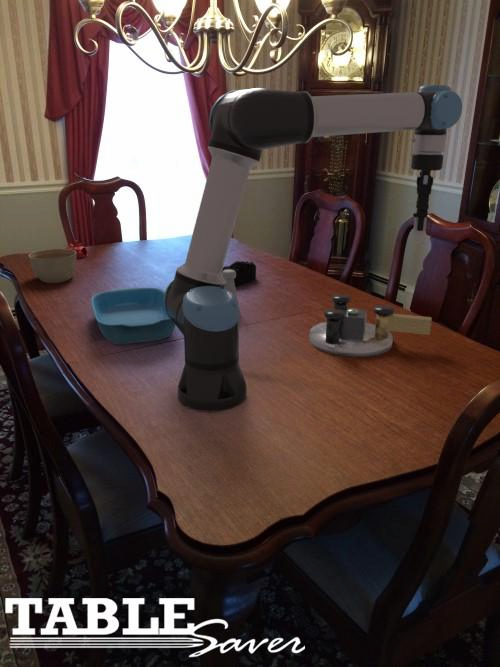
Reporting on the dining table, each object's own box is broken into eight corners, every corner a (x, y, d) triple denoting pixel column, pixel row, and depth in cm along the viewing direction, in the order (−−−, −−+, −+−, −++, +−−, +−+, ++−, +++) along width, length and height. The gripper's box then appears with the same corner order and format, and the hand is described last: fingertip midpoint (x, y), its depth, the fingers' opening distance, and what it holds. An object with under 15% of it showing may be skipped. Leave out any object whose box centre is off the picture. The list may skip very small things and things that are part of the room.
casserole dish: (90, 310, 172) (87, 288, 170) (161, 304, 179) (160, 282, 176) (100, 355, 140) (97, 329, 137) (187, 345, 146) (186, 319, 144)
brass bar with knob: (370, 338, 145) (373, 310, 143) (372, 331, 150) (374, 304, 147) (428, 344, 142) (432, 316, 139) (428, 337, 146) (432, 309, 144)
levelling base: (390, 361, 137) (394, 323, 134) (302, 351, 143) (304, 314, 139) (393, 331, 157) (397, 297, 153) (316, 323, 163) (318, 290, 159)
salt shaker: (235, 314, 169) (235, 273, 165) (217, 313, 170) (217, 272, 166) (240, 308, 175) (240, 268, 170) (222, 307, 176) (222, 267, 171)
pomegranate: (60, 262, 229) (57, 239, 226) (83, 258, 235) (81, 237, 231) (69, 267, 222) (66, 243, 218) (92, 263, 228) (90, 241, 224)
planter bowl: (71, 275, 210) (68, 246, 206) (85, 285, 198) (82, 255, 194) (27, 281, 202) (23, 251, 198) (38, 292, 189) (34, 260, 185)
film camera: (239, 278, 209) (239, 254, 206) (259, 282, 203) (259, 258, 200) (211, 286, 198) (211, 261, 195) (232, 291, 192) (232, 266, 189)
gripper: (412, 150, 150) (404, 228, 158) (411, 155, 128) (402, 246, 135) (441, 151, 148) (432, 230, 156) (446, 156, 126) (434, 248, 133)
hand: (418, 238), depth 146 cm, fingers open, 13 cm apart
